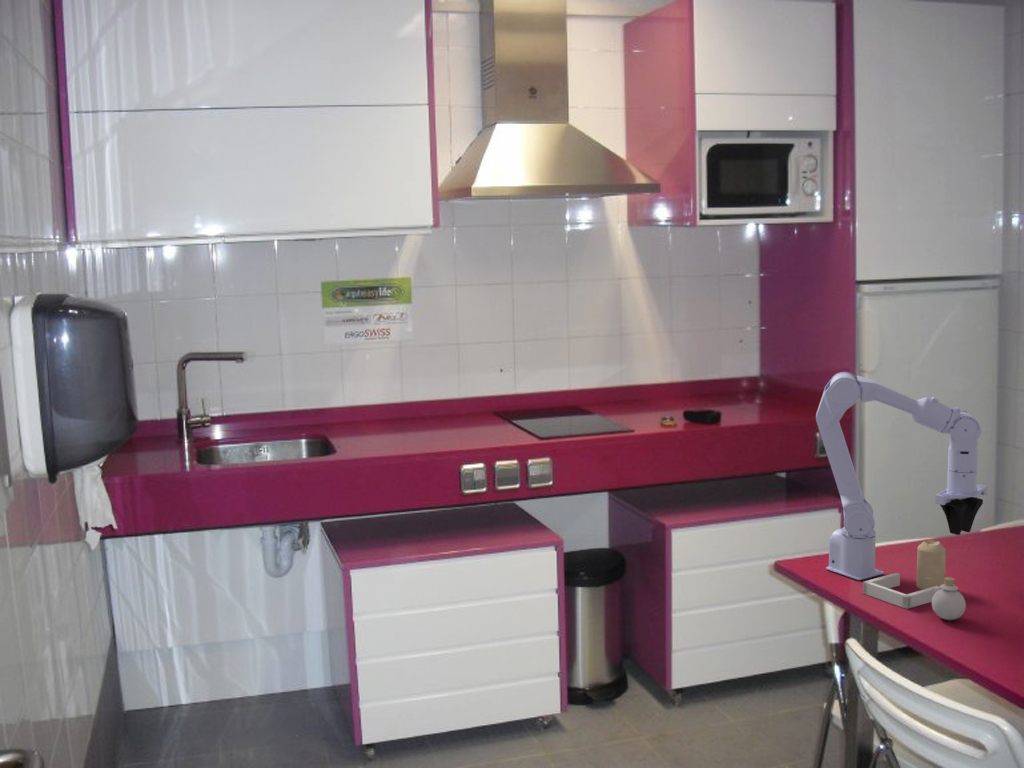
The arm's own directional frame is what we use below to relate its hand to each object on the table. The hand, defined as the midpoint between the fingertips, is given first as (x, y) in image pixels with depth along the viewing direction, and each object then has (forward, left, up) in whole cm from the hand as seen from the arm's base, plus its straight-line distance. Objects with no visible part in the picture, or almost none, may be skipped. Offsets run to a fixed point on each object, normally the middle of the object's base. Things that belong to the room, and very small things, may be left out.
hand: (960, 532), depth 221 cm
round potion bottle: (+13, -21, -11) cm, 27 cm away
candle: (0, -9, -11) cm, 14 cm away
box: (0, -17, -10) cm, 20 cm away
